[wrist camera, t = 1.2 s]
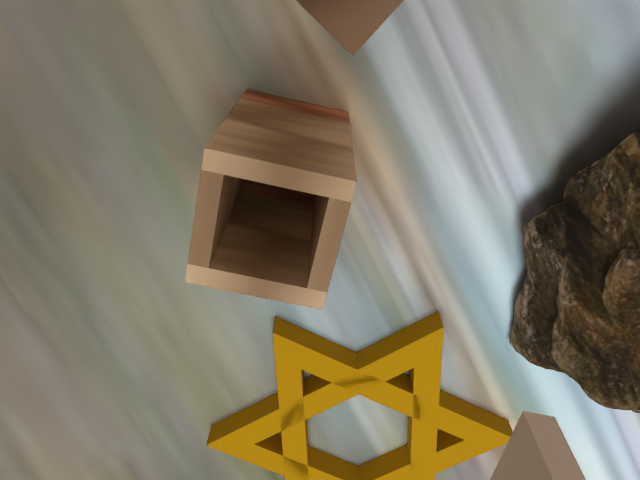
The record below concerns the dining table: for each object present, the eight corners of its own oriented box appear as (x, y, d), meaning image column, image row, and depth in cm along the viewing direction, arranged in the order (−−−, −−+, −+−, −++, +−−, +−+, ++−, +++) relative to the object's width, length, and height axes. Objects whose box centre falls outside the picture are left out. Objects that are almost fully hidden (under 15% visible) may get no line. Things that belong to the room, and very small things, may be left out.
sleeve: (230, 185, 32) (184, 282, 22) (246, 89, 30) (204, 148, 20) (325, 206, 33) (322, 309, 23) (348, 112, 30) (356, 181, 20)
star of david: (166, 372, 38) (157, 395, 36) (398, 246, 34) (402, 263, 32) (327, 548, 45) (327, 576, 43) (535, 462, 41) (546, 487, 39)
